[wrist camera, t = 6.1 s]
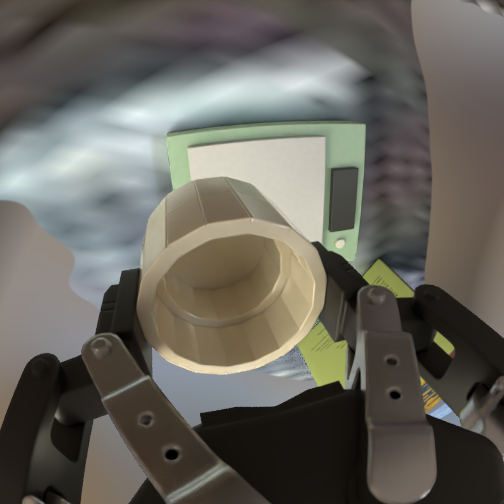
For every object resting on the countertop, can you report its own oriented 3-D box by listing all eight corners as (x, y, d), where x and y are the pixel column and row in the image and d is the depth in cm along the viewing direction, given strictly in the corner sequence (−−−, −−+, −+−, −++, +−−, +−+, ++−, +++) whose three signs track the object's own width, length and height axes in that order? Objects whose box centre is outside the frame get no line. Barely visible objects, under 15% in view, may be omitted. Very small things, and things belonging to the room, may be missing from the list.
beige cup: (132, 185, 12) (114, 238, 8) (279, 166, 13) (334, 206, 9) (158, 306, 15) (163, 385, 11) (278, 285, 16) (317, 353, 12)
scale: (166, 133, 23) (165, 138, 21) (352, 120, 27) (371, 125, 24) (188, 277, 30) (191, 296, 28) (344, 249, 34) (359, 263, 31)
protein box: (294, 344, 39) (344, 444, 26) (378, 256, 35) (463, 338, 22) (339, 364, 44) (387, 444, 31) (411, 290, 40) (480, 361, 27)
